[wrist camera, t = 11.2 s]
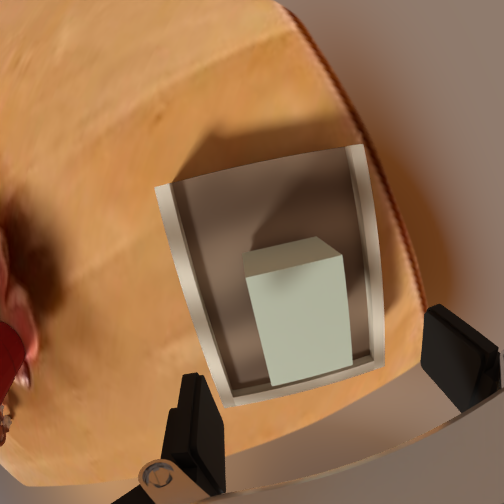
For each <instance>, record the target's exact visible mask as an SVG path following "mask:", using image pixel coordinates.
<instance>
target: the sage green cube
mask: <svg viewBox="0 0 504 504" xmlns="http://www.w3.org/2000/svg"><path fill="white" fill-rule="evenodd" d="M242 256H243V263H244V271H245V278H246V282H247V286H248V290H249V295H250V299H251V303H252V307H253V311H254V315H255V320H256V324H257V328H258V332H259V336H260V340H261V344H262V348H263V352H264V356H265V360H266V364H267V369H268V373H269V377H270V381H271V385H272V386H276V385H280V384H285V383H289V382H293V381H297V380H301V379H305V378H309V377H313V376H316V375H320V374H324V373H327V372H331V371H334V370H337V369H341V368H344V367H347V366H351V365H353V361H352V345H351V332H350V320H349V309H348V299H347V289H346V281H345V272H344V264H343V257H342V254H340V253H339V252H338V251H336V250H335V249H333V248H332V247H331V246H329V245H328V244H326V243H325V242H324V241H322V240H321V239H320V238H318V237H317V236H315V237H311V238H307V239H301V240H298V241H293V242H289V243H285V244H280V245H276V246H271V247H267V248H263V249H256V250H253V251H249V252H245V253H242Z"/></svg>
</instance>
